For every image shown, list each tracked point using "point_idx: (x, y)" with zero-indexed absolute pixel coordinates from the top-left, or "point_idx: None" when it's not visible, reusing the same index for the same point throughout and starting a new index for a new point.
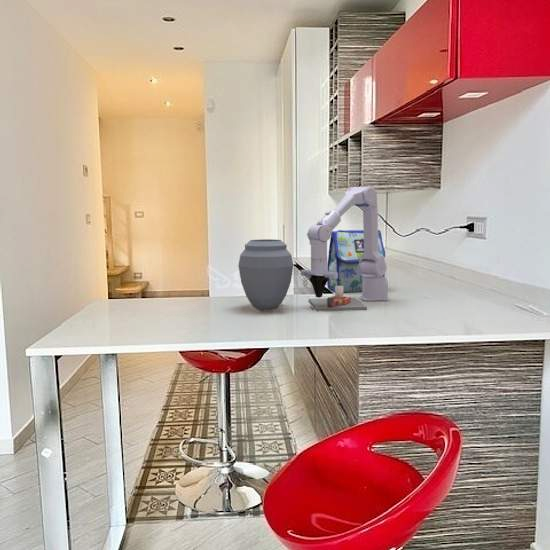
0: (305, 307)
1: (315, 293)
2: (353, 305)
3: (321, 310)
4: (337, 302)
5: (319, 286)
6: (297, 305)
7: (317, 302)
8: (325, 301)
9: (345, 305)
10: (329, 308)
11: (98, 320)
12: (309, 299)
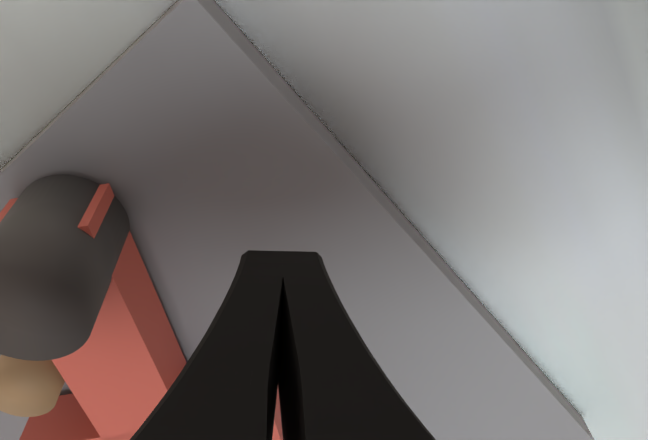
0: (488, 140)
1: (322, 288)
2: None
3: (131, 45)
4: None
5: (148, 433)
6: (644, 196)
7: (412, 349)
8: None
9: None
10: (34, 139)
11: None
12: (571, 422)
